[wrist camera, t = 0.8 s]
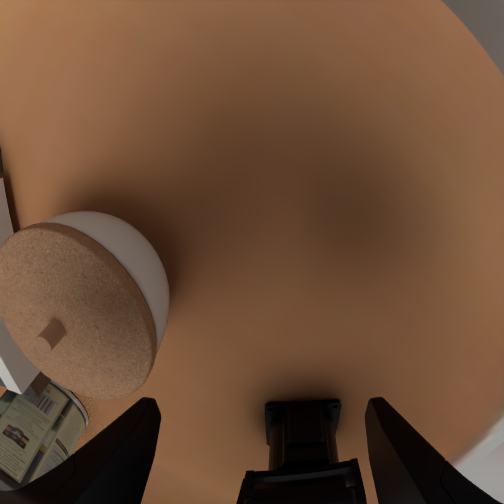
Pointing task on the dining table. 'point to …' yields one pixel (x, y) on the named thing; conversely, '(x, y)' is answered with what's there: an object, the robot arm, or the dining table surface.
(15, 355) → the grey flat bar
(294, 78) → the dining table surface
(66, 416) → the coffee can
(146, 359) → the lidded jar
